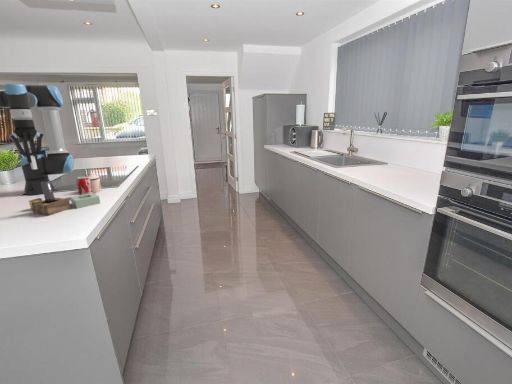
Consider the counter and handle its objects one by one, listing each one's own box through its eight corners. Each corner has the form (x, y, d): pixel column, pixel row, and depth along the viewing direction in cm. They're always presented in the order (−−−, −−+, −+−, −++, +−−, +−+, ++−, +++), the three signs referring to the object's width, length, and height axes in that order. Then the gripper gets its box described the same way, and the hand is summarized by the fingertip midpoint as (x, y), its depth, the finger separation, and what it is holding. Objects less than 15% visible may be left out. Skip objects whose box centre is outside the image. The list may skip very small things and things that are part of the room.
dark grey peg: (47, 210, 138) (40, 182, 133) (56, 208, 140) (49, 180, 136) (48, 212, 135) (41, 183, 131) (58, 210, 138) (51, 181, 133)
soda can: (87, 199, 156) (82, 178, 153) (76, 198, 158) (72, 178, 154) (96, 195, 163) (92, 176, 160) (86, 195, 164) (82, 175, 161)
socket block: (33, 213, 134) (31, 203, 133) (55, 206, 144) (53, 197, 143) (49, 215, 131) (46, 205, 129) (70, 208, 141) (68, 199, 139)
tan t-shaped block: (30, 208, 139) (28, 200, 138) (41, 205, 144) (39, 198, 142) (42, 210, 136) (40, 202, 135) (52, 207, 141) (51, 199, 140)
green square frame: (71, 203, 148) (70, 196, 147) (94, 199, 155) (92, 192, 154) (77, 208, 140) (75, 201, 139) (100, 203, 148) (98, 196, 147)
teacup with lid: (104, 191, 172) (100, 173, 169) (87, 194, 166) (84, 175, 163) (98, 187, 180) (95, 170, 177) (83, 190, 174) (79, 172, 171)
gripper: (7, 119, 119) (20, 171, 125) (42, 118, 130) (53, 167, 136) (1, 119, 123) (15, 170, 129) (36, 119, 134) (47, 166, 140)
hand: (34, 169), depth 132 cm, fingers closed
